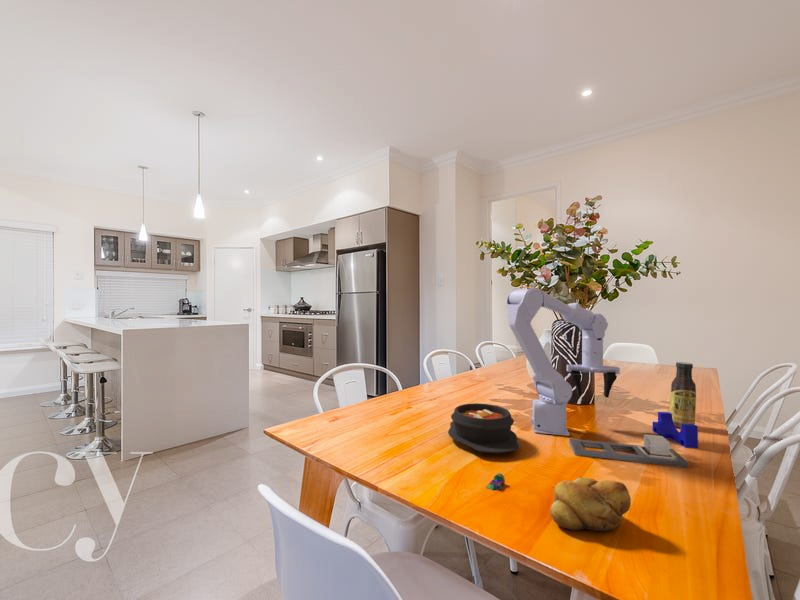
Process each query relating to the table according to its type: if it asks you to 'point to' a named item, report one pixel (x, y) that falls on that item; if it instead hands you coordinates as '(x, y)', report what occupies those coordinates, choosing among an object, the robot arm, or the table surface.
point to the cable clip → (676, 431)
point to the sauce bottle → (683, 395)
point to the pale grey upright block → (656, 445)
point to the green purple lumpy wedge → (496, 482)
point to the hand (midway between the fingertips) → (592, 395)
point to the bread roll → (590, 504)
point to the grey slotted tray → (636, 449)
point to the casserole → (483, 428)
